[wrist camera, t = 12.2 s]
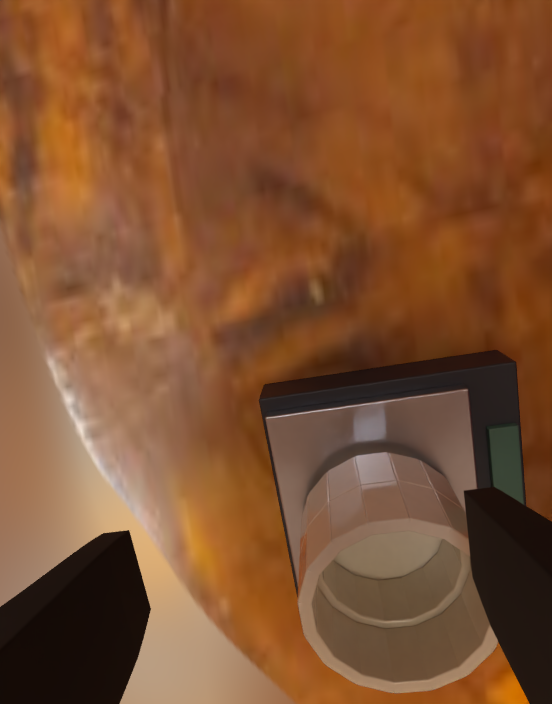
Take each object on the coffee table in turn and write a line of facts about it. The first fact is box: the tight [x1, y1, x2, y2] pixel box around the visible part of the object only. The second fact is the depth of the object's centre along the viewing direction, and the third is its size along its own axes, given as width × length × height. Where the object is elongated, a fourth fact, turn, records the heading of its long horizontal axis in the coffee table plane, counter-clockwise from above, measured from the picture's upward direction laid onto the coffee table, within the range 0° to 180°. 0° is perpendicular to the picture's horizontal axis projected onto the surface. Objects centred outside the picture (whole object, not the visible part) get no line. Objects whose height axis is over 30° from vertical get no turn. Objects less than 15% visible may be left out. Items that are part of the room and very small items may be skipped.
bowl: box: [298, 452, 498, 693], centre depth 16 cm, size 6×6×4 cm
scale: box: [259, 350, 526, 597], centre depth 19 cm, size 9×10×2 cm
